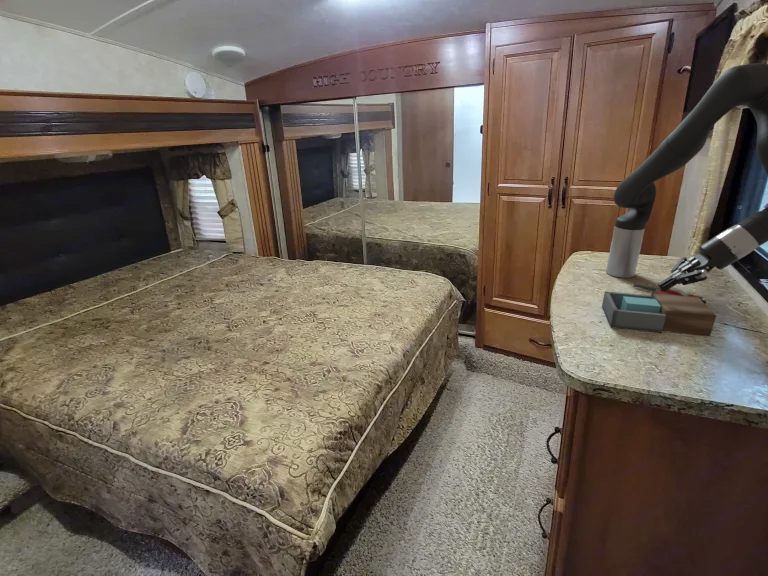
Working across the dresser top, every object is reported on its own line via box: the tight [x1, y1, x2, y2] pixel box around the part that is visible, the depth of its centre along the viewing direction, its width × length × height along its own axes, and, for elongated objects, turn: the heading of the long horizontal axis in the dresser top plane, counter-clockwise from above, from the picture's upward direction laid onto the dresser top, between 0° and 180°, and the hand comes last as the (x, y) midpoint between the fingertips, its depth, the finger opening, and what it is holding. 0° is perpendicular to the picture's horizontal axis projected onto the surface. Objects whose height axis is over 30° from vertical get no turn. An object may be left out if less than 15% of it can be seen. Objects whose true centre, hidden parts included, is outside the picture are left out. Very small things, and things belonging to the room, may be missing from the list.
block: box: [620, 296, 661, 313], centre depth 113 cm, size 5×5×8 cm
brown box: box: [652, 293, 717, 337], centre depth 111 cm, size 12×11×6 cm
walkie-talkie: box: [633, 283, 707, 305], centre depth 127 cm, size 9×4×20 cm
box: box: [601, 291, 666, 334], centre depth 114 cm, size 14×12×5 cm
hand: (660, 288), depth 110 cm, fingers closed
